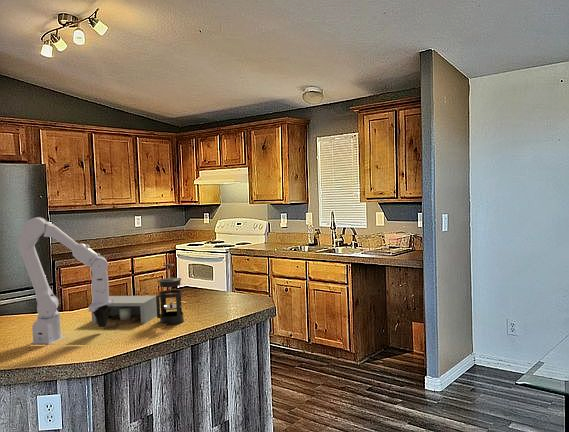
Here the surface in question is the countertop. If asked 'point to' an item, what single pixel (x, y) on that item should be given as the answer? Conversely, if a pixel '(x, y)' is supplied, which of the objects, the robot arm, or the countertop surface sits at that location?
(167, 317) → the french press
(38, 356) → the countertop surface
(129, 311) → the cream rounded block
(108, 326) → the tray
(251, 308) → the countertop surface
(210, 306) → the countertop surface
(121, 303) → the large grey box
